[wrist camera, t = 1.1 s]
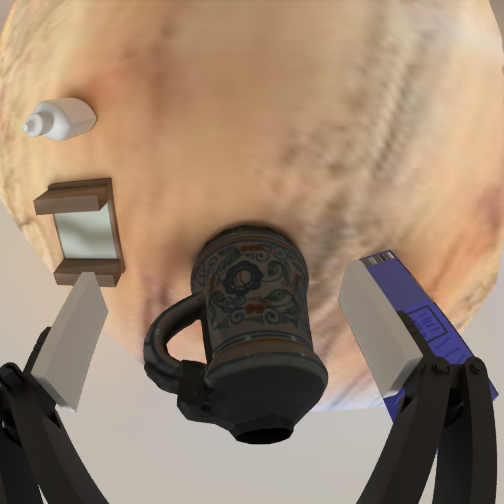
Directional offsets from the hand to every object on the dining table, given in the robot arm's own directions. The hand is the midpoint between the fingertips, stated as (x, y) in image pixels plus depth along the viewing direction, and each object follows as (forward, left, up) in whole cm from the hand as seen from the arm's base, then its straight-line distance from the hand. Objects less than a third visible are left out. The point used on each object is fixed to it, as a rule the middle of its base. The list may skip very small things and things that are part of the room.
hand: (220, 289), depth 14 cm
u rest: (+7, -19, -23) cm, 31 cm away
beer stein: (+15, +3, -23) cm, 28 cm away
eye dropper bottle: (-9, -18, -23) cm, 30 cm away
